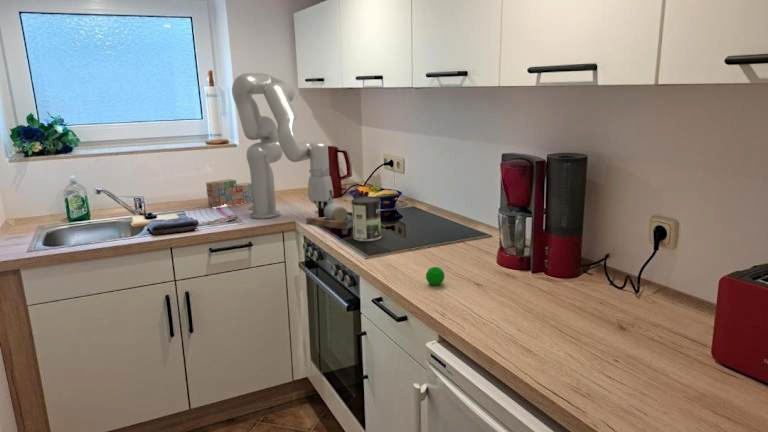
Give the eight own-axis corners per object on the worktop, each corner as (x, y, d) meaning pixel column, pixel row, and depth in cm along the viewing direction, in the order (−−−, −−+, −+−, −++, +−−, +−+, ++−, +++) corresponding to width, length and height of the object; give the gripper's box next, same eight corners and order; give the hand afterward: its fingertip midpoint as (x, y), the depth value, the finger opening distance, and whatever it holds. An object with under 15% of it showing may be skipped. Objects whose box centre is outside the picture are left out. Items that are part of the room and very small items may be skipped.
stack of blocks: (248, 200, 273) (246, 176, 270) (255, 202, 268) (253, 177, 265) (208, 207, 259) (205, 182, 256) (214, 209, 254) (211, 183, 251)
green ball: (434, 289, 146) (434, 272, 145) (422, 284, 150) (422, 267, 149) (448, 284, 149) (448, 268, 148) (436, 280, 152) (436, 263, 151)
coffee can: (382, 233, 203) (381, 196, 199) (380, 241, 193) (379, 202, 189) (354, 234, 203) (353, 196, 200) (351, 241, 193) (349, 202, 190)
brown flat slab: (306, 223, 221) (305, 216, 220) (331, 215, 234) (331, 208, 233) (345, 229, 210) (345, 221, 209) (370, 220, 223) (369, 213, 223)
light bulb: (332, 225, 217) (332, 206, 215) (323, 221, 224) (323, 203, 222) (356, 221, 222) (355, 203, 221) (346, 218, 229) (346, 200, 227)
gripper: (299, 173, 223) (302, 217, 227) (328, 175, 215) (331, 220, 219) (311, 170, 229) (314, 213, 233) (340, 172, 221) (342, 216, 225)
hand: (322, 216), depth 226 cm, fingers closed
